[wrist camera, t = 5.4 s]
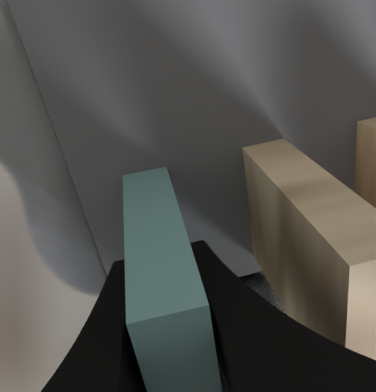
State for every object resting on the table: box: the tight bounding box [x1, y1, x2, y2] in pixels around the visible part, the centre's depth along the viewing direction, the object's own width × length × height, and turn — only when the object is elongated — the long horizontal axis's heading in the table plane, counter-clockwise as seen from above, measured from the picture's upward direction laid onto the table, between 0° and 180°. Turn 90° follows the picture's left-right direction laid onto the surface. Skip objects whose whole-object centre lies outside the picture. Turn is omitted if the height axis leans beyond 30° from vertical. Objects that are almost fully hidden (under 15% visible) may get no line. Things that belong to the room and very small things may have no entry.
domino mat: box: [6, 0, 376, 277], centre depth 14 cm, size 12×22×1 cm, turn 100°
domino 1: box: [123, 167, 222, 392], centre depth 11 cm, size 5×2×7 cm, turn 8°
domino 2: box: [242, 138, 376, 360], centre depth 11 cm, size 5×2×7 cm, turn 10°
